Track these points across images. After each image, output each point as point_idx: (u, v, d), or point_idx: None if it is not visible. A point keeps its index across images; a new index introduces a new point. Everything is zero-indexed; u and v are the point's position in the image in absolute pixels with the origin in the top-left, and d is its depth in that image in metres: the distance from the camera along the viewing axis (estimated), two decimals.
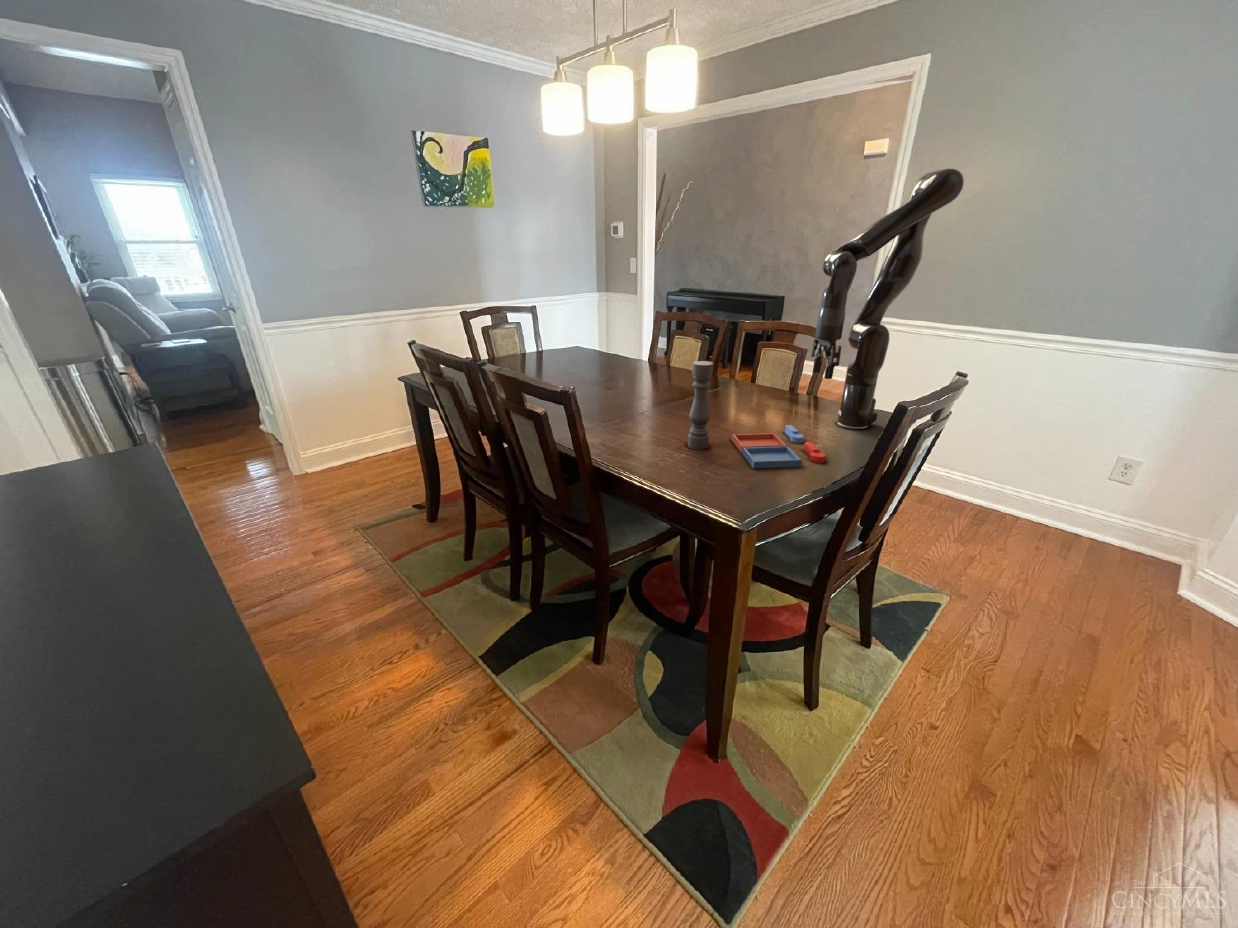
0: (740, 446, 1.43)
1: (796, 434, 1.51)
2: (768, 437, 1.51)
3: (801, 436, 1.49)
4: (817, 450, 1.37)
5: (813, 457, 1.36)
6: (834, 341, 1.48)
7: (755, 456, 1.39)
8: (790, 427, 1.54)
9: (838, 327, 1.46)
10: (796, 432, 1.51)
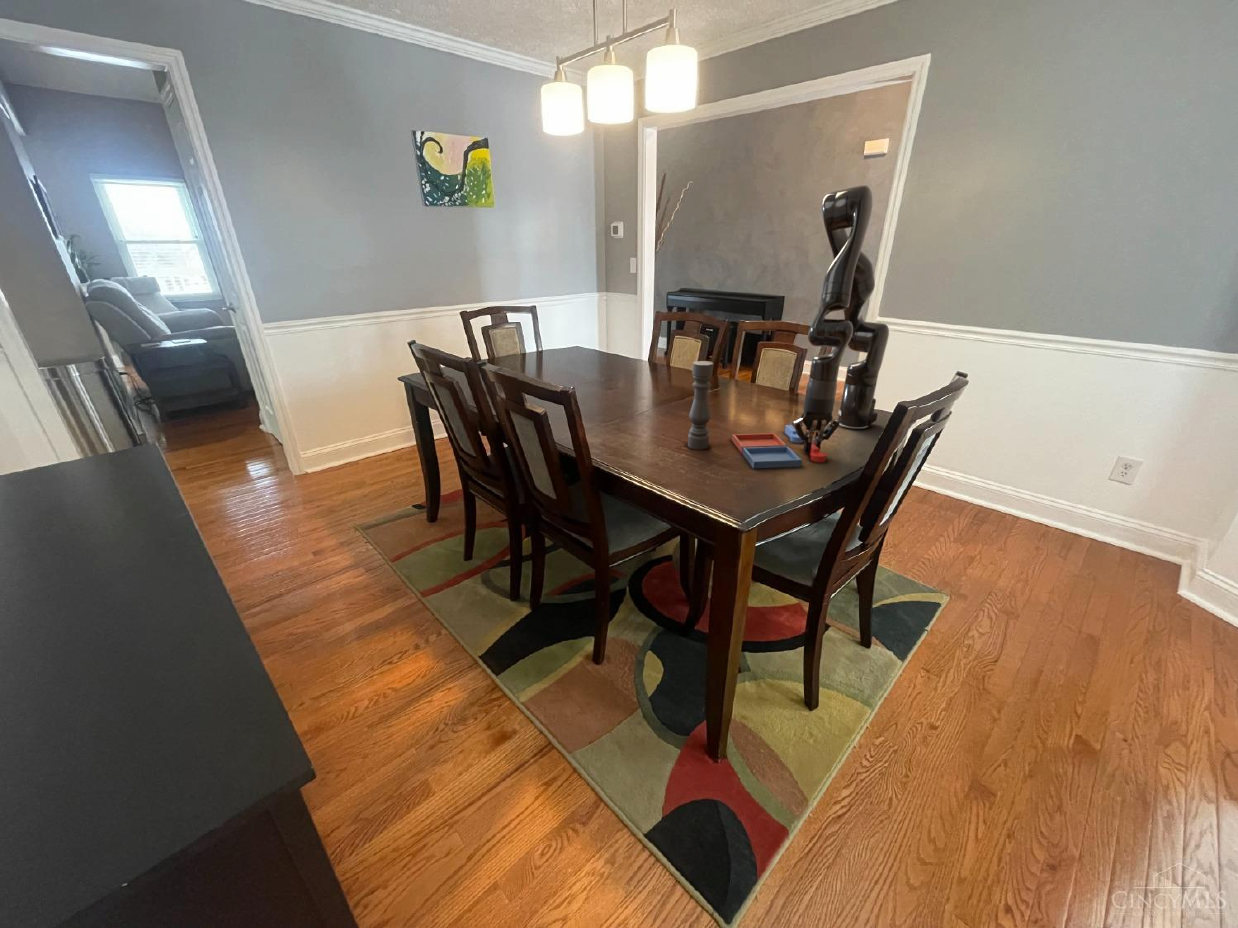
0: (740, 446, 1.43)
1: (796, 434, 1.51)
2: (768, 437, 1.51)
3: None
4: (817, 450, 1.37)
5: (813, 456, 1.36)
6: (805, 412, 1.35)
7: (755, 456, 1.39)
8: (790, 427, 1.54)
9: (808, 398, 1.33)
10: (796, 432, 1.51)
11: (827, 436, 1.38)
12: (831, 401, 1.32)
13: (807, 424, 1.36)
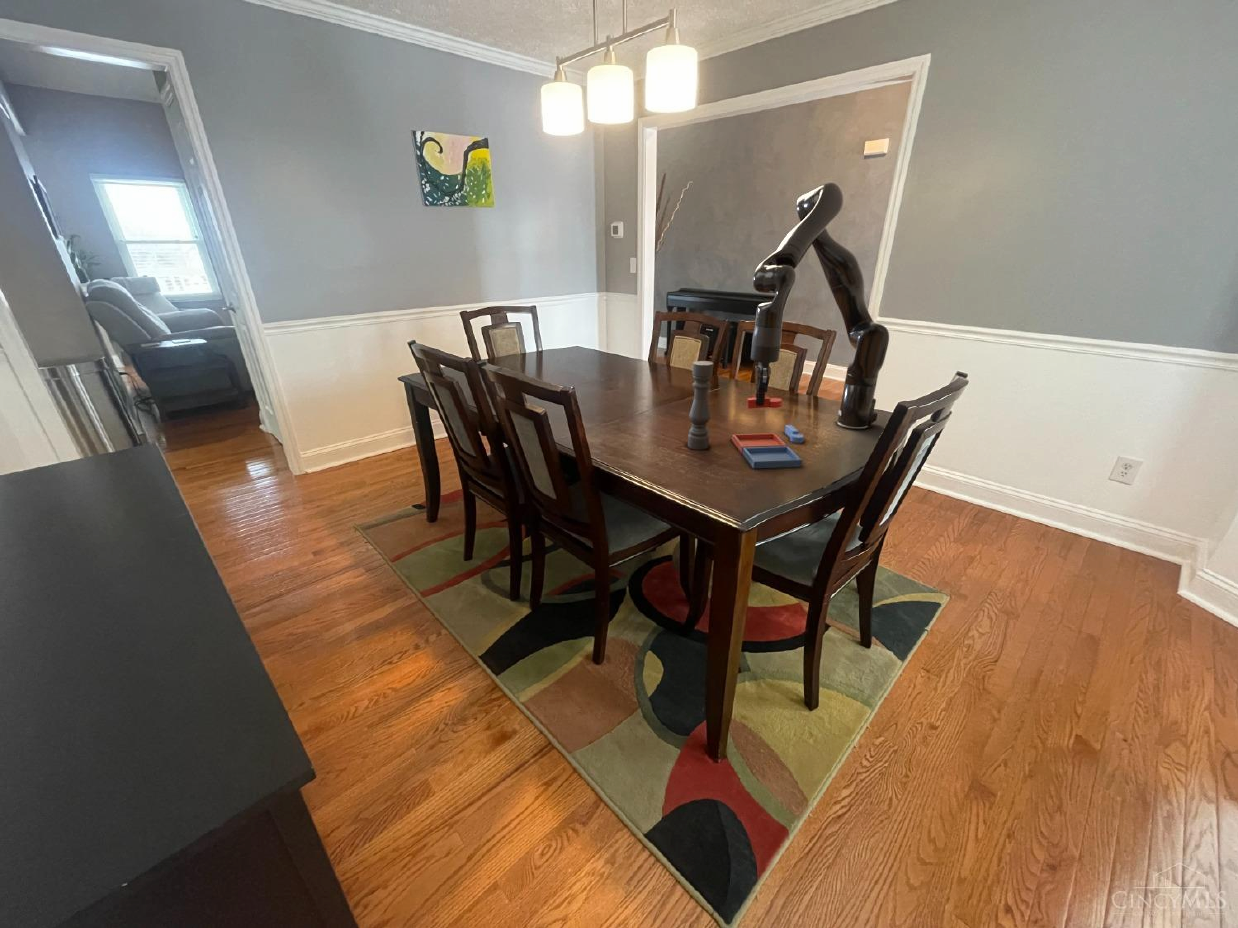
0: (740, 446, 1.43)
1: (796, 434, 1.51)
2: (768, 437, 1.51)
3: (801, 436, 1.49)
4: (769, 398, 1.40)
5: (778, 403, 1.38)
6: (766, 364, 1.33)
7: (755, 456, 1.39)
8: (790, 427, 1.54)
9: (770, 348, 1.31)
10: (796, 432, 1.51)
11: None
12: None
13: (767, 375, 1.35)
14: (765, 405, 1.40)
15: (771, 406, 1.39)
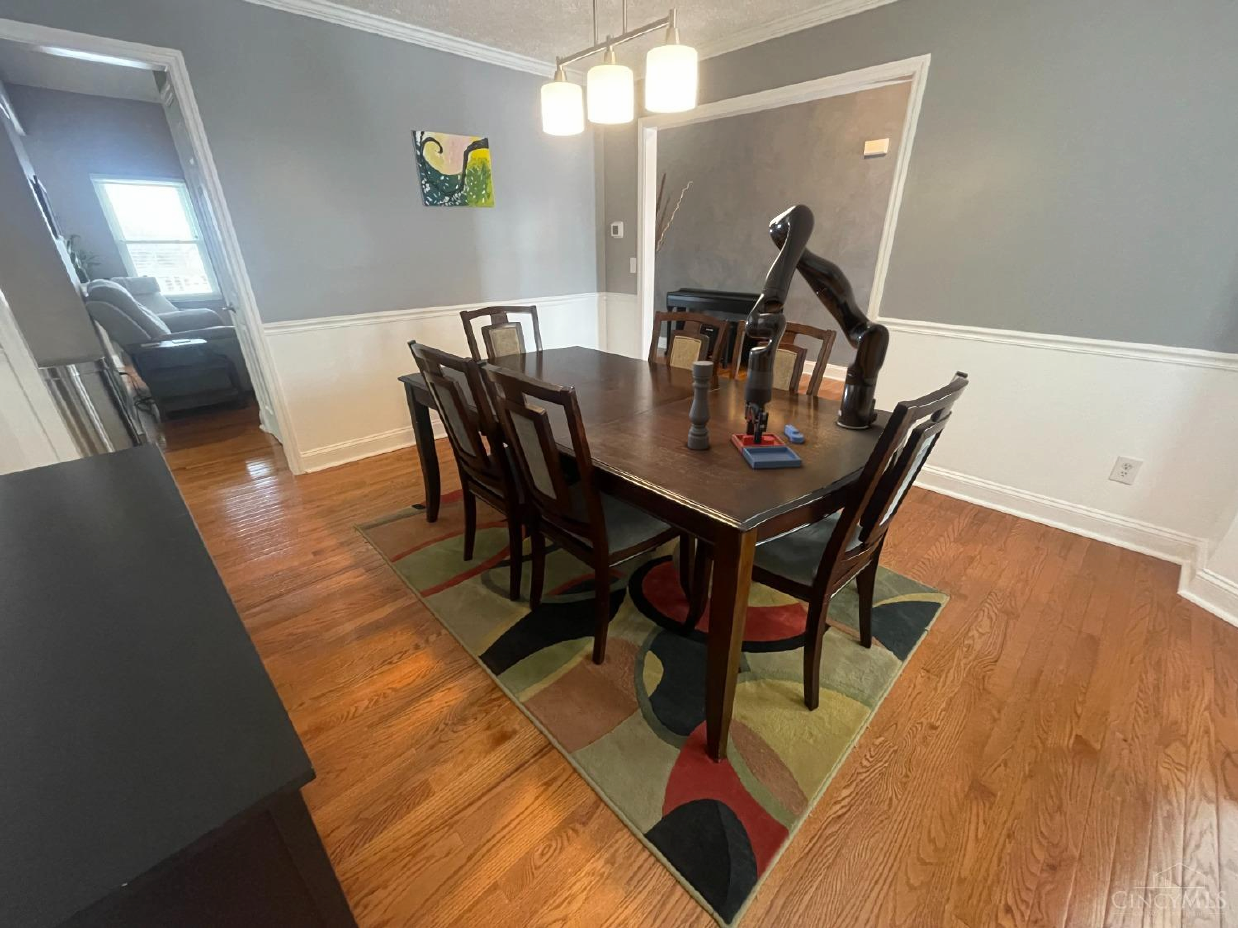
0: (740, 446, 1.43)
1: (796, 434, 1.51)
2: None
3: (801, 436, 1.49)
4: None
5: (772, 441, 1.45)
6: (762, 405, 1.38)
7: (755, 456, 1.39)
8: (790, 427, 1.54)
9: (766, 390, 1.37)
10: (796, 432, 1.51)
11: None
12: None
13: None
14: None
15: (765, 444, 1.46)
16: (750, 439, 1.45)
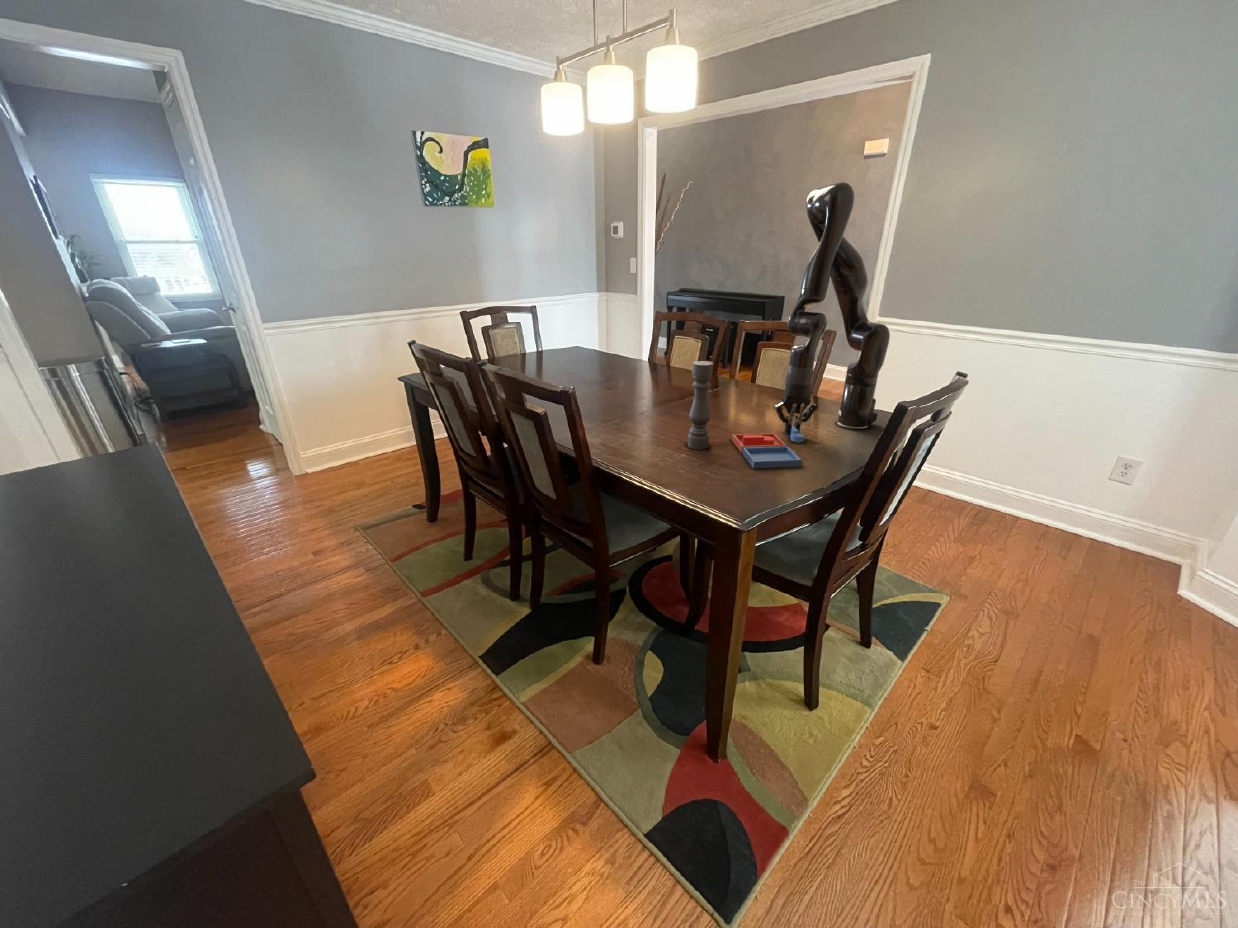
0: (740, 446, 1.43)
1: (796, 434, 1.51)
2: None
3: (802, 435, 1.49)
4: None
5: (772, 441, 1.45)
6: (785, 397, 1.49)
7: (755, 456, 1.39)
8: None
9: (788, 384, 1.47)
10: (796, 432, 1.51)
11: (806, 419, 1.51)
12: (808, 386, 1.45)
13: (787, 408, 1.50)
14: (759, 443, 1.46)
15: (765, 444, 1.46)
16: (750, 439, 1.45)
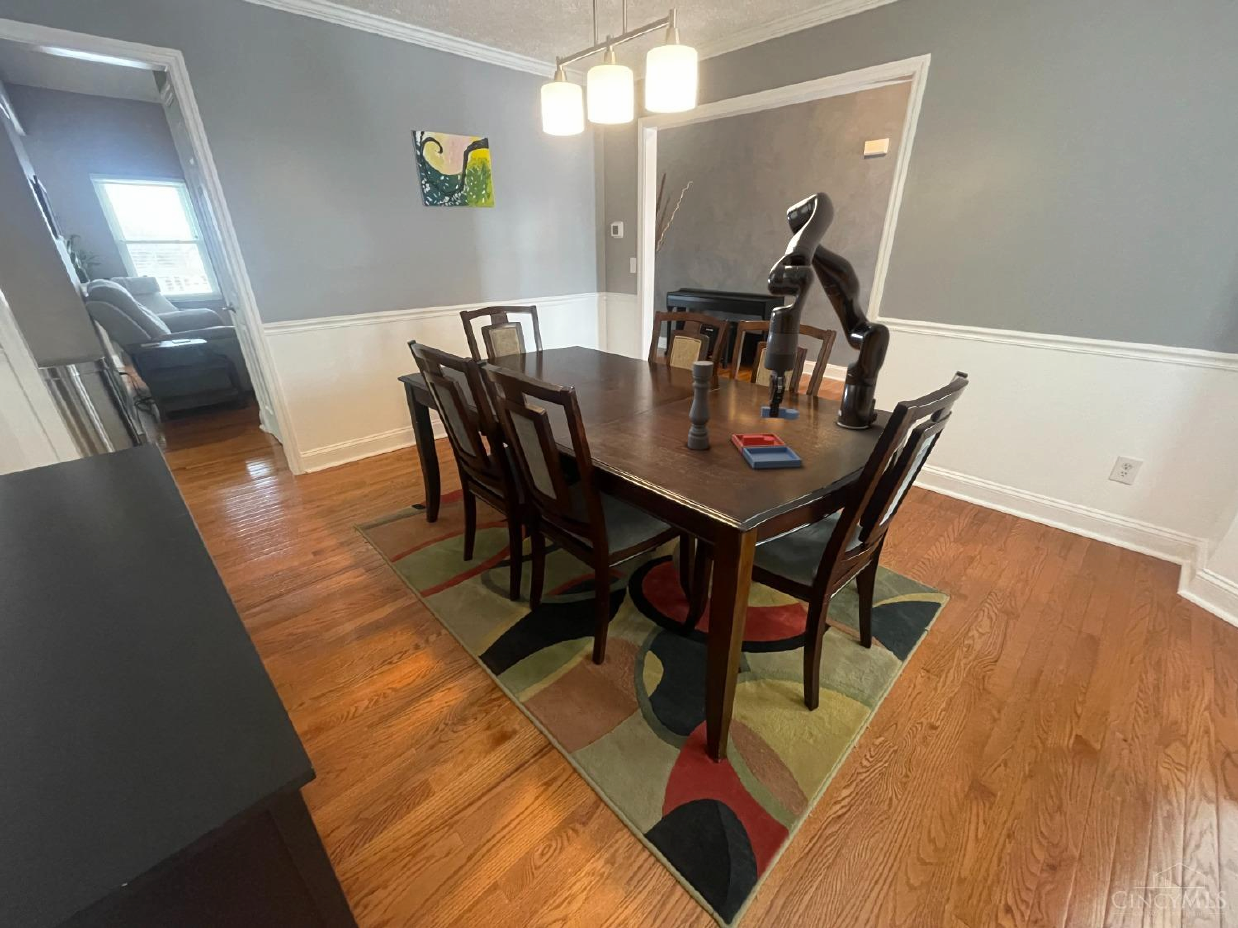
0: (740, 446, 1.43)
1: (788, 411, 1.30)
2: None
3: (794, 410, 1.30)
4: None
5: (772, 441, 1.45)
6: (782, 372, 1.23)
7: (755, 456, 1.39)
8: None
9: (786, 356, 1.21)
10: None
11: None
12: None
13: (782, 385, 1.25)
14: (759, 443, 1.46)
15: (765, 444, 1.46)
16: (750, 439, 1.45)
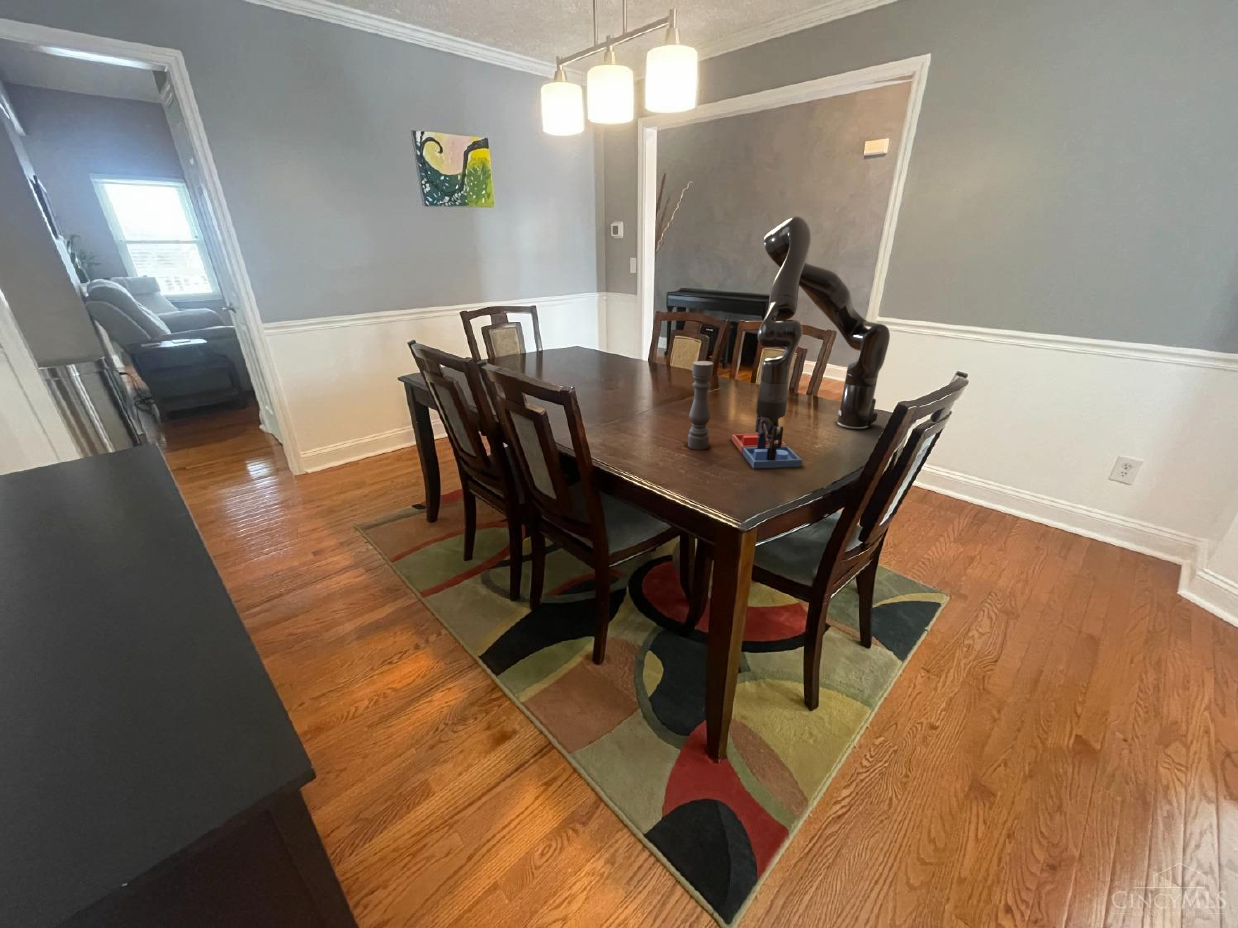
0: (740, 446, 1.43)
1: (778, 452, 1.36)
2: None
3: (783, 451, 1.37)
4: None
5: None
6: (776, 419, 1.28)
7: None
8: (764, 450, 1.36)
9: (780, 404, 1.27)
10: None
11: None
12: None
13: None
14: None
15: None
16: (750, 439, 1.45)
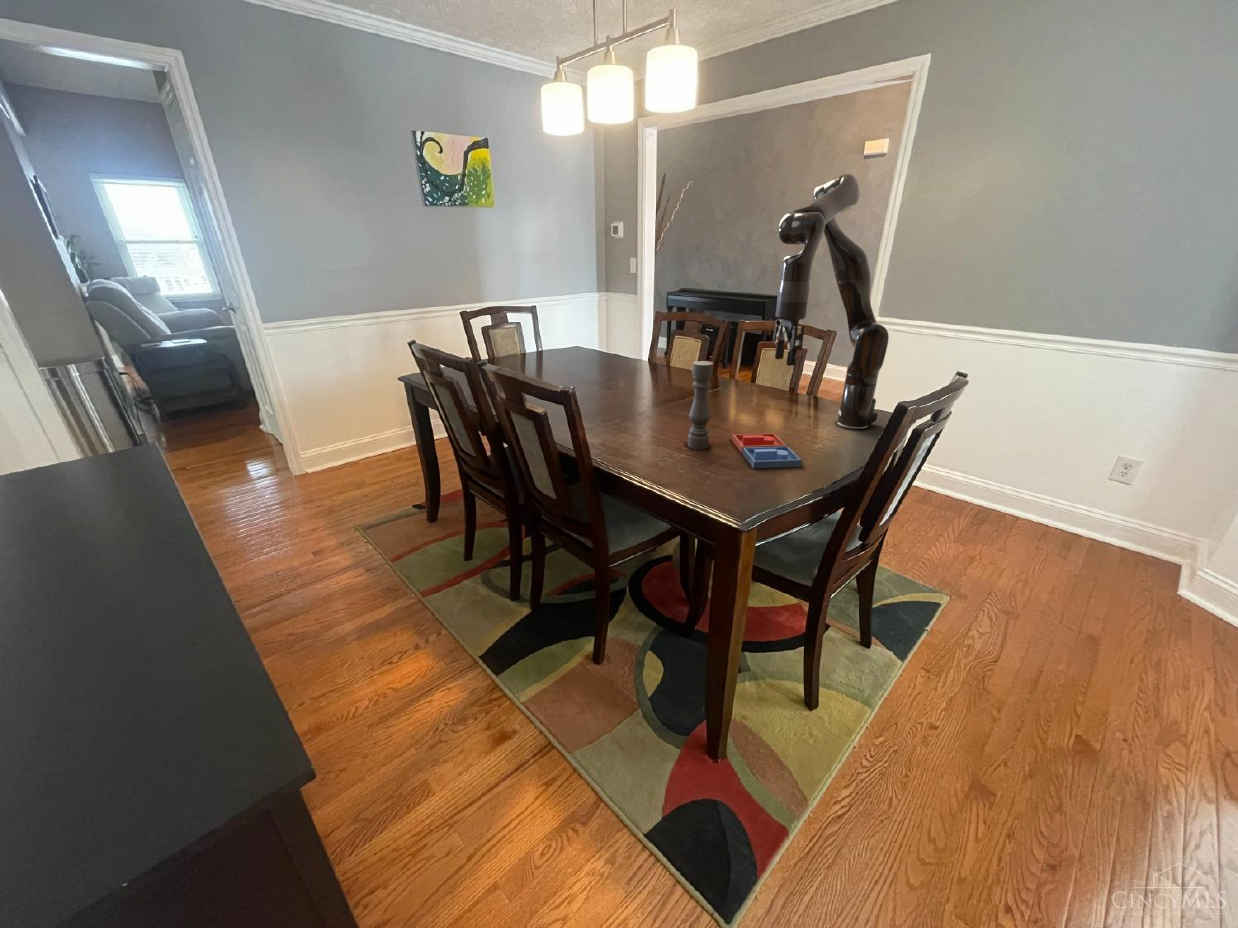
0: (740, 446, 1.43)
1: (778, 452, 1.36)
2: None
3: (783, 451, 1.37)
4: None
5: (772, 441, 1.45)
6: (796, 321, 1.25)
7: None
8: (764, 450, 1.36)
9: (801, 304, 1.23)
10: None
11: None
12: None
13: None
14: (759, 443, 1.46)
15: (765, 444, 1.46)
16: (750, 439, 1.45)
